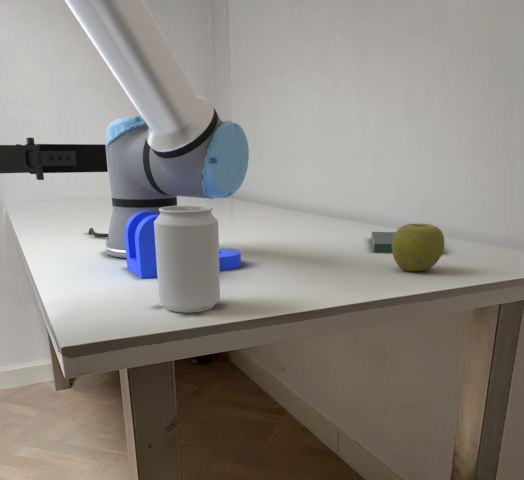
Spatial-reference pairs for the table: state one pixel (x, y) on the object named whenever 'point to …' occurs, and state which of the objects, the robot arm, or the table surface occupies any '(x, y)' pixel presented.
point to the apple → (417, 246)
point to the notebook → (382, 241)
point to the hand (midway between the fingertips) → (104, 158)
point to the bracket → (144, 248)
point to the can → (187, 258)
